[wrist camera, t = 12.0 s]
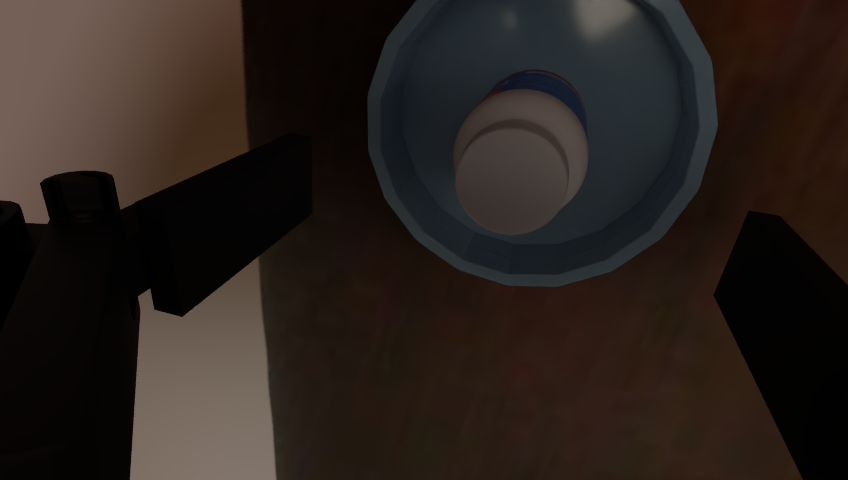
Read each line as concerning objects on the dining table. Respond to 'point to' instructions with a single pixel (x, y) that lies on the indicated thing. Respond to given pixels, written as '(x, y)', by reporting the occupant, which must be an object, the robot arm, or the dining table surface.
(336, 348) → the dining table surface
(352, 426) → the dining table surface
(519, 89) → the pill bottle
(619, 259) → the shallow blue dish
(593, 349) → the dining table surface
